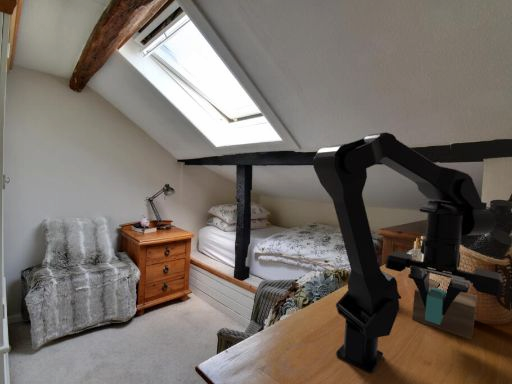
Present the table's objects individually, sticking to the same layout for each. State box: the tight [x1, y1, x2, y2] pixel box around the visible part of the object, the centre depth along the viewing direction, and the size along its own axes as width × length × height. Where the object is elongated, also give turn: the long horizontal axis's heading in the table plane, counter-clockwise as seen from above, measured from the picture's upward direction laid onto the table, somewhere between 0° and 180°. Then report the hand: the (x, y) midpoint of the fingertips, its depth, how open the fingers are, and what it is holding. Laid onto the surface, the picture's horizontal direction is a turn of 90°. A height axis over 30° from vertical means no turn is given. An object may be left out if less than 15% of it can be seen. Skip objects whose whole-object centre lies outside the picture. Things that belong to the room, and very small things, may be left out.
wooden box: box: [411, 278, 478, 341], centre depth 64 cm, size 11×11×7 cm
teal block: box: [425, 287, 446, 325], centre depth 55 cm, size 6×2×5 cm, turn 138°
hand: (435, 311), depth 55 cm, fingers closed on teal block, 2 cm apart
